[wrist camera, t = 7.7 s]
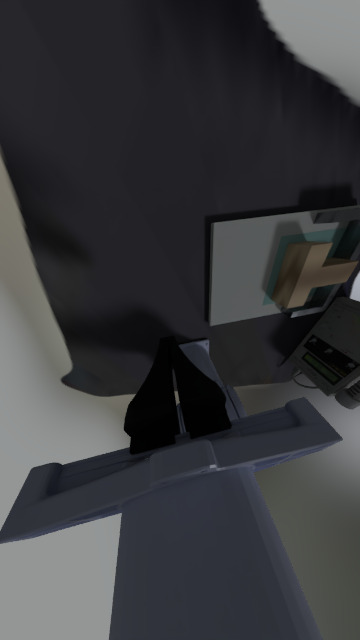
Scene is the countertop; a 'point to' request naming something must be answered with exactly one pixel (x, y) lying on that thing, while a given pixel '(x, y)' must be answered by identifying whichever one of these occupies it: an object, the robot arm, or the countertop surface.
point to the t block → (308, 272)
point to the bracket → (352, 244)
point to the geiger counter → (333, 353)
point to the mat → (258, 260)
